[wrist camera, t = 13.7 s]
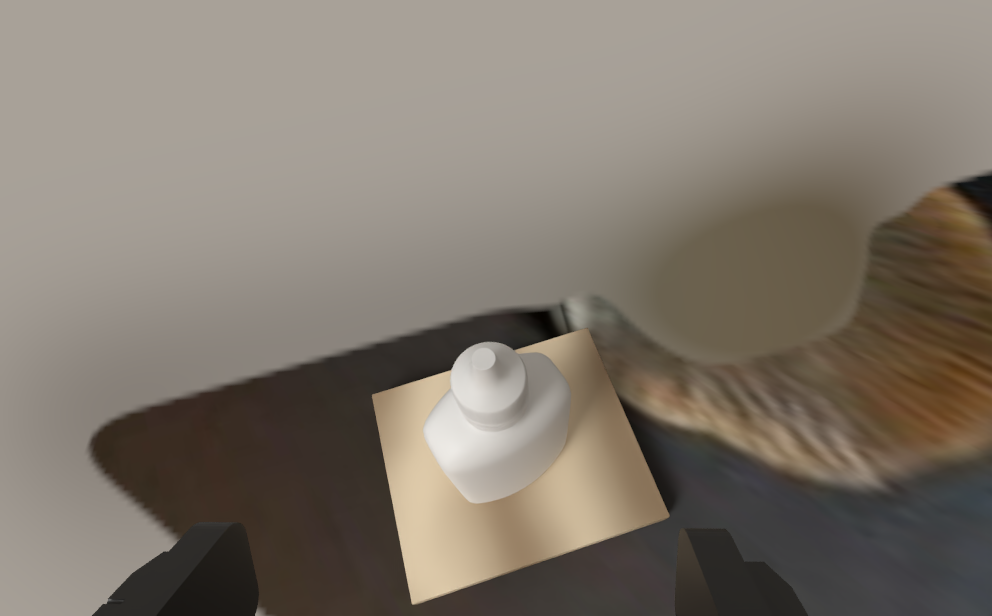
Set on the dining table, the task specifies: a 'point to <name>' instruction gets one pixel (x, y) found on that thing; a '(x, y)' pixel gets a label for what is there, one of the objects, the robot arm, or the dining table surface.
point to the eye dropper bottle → (499, 421)
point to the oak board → (531, 511)
